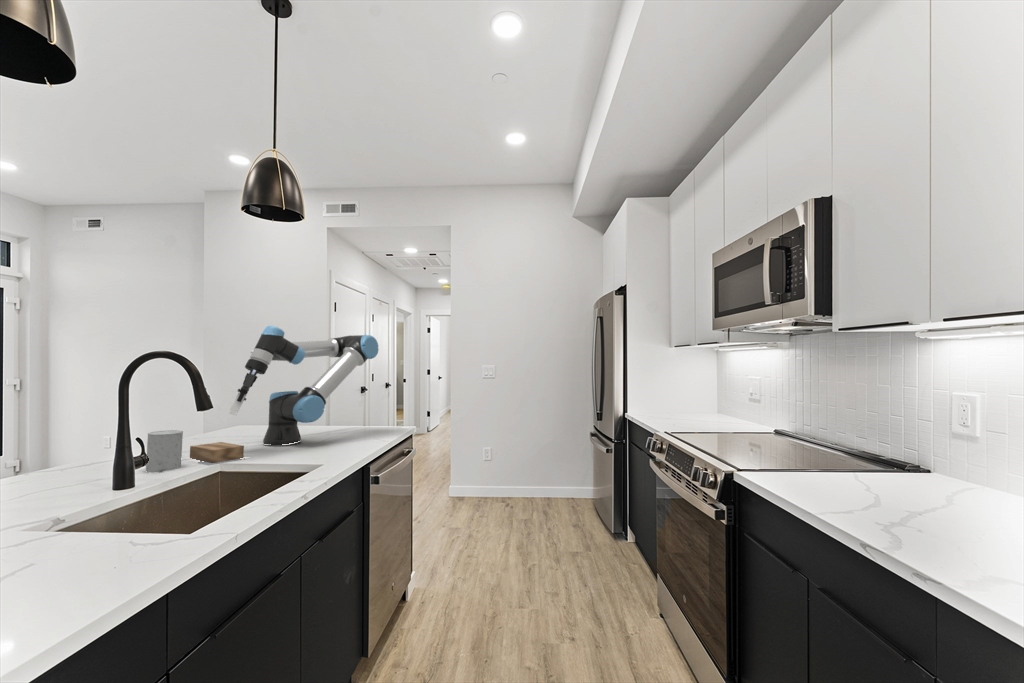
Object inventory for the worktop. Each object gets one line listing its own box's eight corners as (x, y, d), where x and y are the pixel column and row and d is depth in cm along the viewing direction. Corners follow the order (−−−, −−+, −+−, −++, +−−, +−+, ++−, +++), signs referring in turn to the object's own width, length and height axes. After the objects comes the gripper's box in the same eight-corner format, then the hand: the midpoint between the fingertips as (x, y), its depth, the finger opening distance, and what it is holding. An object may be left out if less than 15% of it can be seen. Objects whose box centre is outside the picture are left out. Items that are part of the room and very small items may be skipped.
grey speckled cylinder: (166, 472, 148) (168, 434, 149) (137, 472, 149) (139, 434, 149) (188, 466, 158) (189, 430, 159) (160, 465, 158) (162, 430, 159)
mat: (223, 452, 182) (223, 451, 182) (253, 458, 172) (253, 457, 172) (178, 459, 168) (178, 458, 168) (208, 466, 158) (208, 465, 158)
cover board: (220, 453, 178) (221, 442, 179) (243, 457, 171) (243, 445, 171) (189, 458, 169) (190, 446, 169) (212, 463, 162) (212, 450, 162)
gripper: (246, 364, 191) (221, 412, 182) (251, 351, 171) (223, 404, 162) (265, 371, 194) (241, 419, 185) (272, 359, 174) (246, 411, 165)
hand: (233, 412), depth 174 cm, fingers open, 13 cm apart
